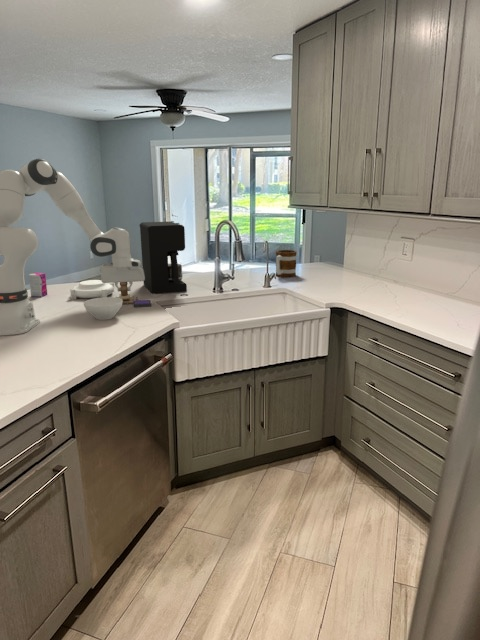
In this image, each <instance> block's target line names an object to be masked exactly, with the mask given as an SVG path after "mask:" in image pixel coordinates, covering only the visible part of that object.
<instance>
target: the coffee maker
mask: <svg viewBox="0 0 480 640" xmlns="http://www.w3.org/2000/svg"><path fill="white" fill-rule="evenodd" d="M138 226H139V229H140V230H139V232H140V233H139V235H140V247H141V266H142V267H143V270H144V276H145V280H144V281H143V286H144V287H145V288H146V290H148V292H149V293H150V294H152V295H160V294H172V293H182V292H187V291H188V287H187V285H188V284H187V283H185V282H184V281H183V267H182V263H178V257H177V256H179V252H183V251H185V249H186V236H185V235H186V233H185V232H186V231H185V226H184V225H183V224H181V223H180V222H175V221H172V220H171V221H147V222H145V221H143V222H140V224H139V225H138ZM169 257H170V263H169Z"/></svg>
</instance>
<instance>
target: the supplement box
mask: <svg viewBox="0 0 480 640" xmlns="http://www.w3.org/2000/svg"><path fill="white" fill-rule="evenodd" d="M46 276H47V275H46V273H44V272H43V273H42V272H34V273H29V274H28V278H29V279H28V280H29V289H30V297H31V298H43V297H45V296H48V287H47V279H46V278H47V277H46Z"/></svg>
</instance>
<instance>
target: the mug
mask: <svg viewBox="0 0 480 640" xmlns="http://www.w3.org/2000/svg"><path fill="white" fill-rule="evenodd" d="M297 253H298V250H293V249H279V250H276V252H275V256H276V257H275V277H277V278H290V279H291V278H295V277H297V271H296V270H297V269H296V268H297Z"/></svg>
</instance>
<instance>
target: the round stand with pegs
mask: <svg viewBox="0 0 480 640" xmlns="http://www.w3.org/2000/svg"><path fill="white" fill-rule="evenodd" d="M69 292H70V298H71V300H77V298H80V299H94V298H101V297H108V296H110V295H111V294H113V293H115V283H103V282H102V281H101V279H89V280H82V281H80V282H79V284H78V285H75V286H73V287H72V288H71V289H69Z"/></svg>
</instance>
